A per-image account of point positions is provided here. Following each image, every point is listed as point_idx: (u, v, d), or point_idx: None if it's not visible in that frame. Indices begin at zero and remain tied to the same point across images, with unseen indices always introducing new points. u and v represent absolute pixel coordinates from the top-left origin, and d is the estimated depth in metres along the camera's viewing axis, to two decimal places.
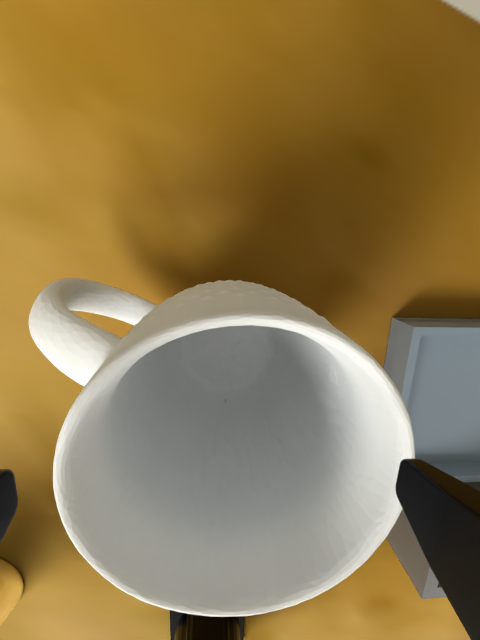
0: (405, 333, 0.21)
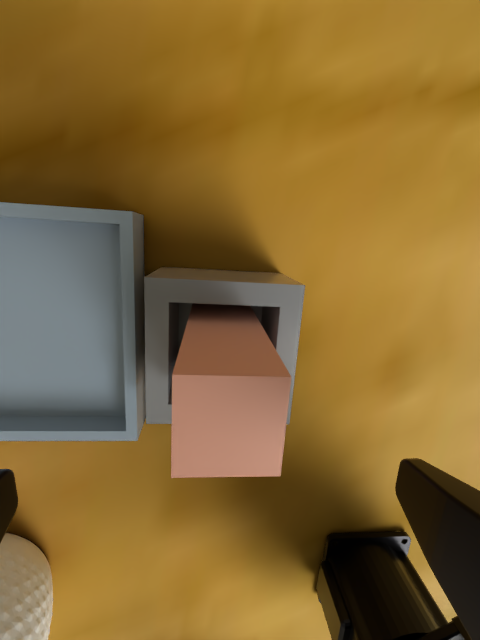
0: None
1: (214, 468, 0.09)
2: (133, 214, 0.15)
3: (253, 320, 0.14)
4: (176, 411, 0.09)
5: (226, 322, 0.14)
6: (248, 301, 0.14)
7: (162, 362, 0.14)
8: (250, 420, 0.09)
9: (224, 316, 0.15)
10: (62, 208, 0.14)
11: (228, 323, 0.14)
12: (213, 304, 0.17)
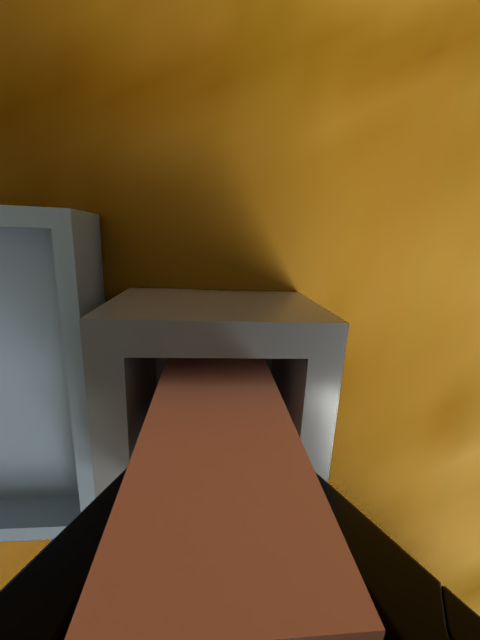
0: None
1: None
2: (73, 212, 0.09)
3: (264, 377, 0.09)
4: None
5: (221, 385, 0.08)
6: (256, 352, 0.08)
7: (119, 451, 0.09)
8: None
9: (218, 369, 0.09)
10: None
11: (224, 388, 0.08)
12: None
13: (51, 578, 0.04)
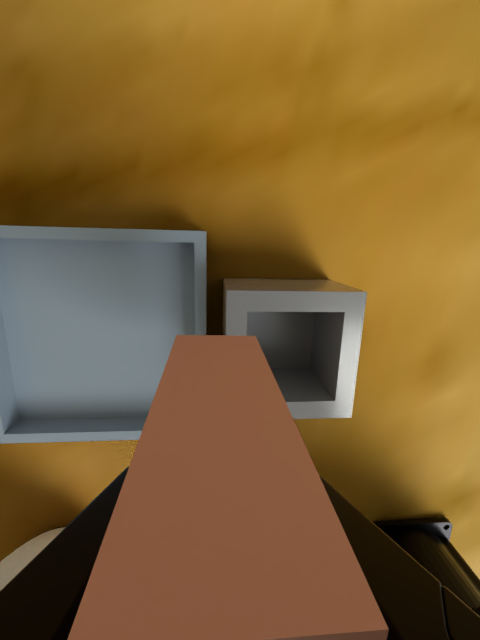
0: None
1: None
2: (206, 233, 0.16)
3: (265, 376, 0.09)
4: None
5: (222, 385, 0.08)
6: (317, 308, 0.15)
7: None
8: None
9: (219, 369, 0.09)
10: (145, 231, 0.16)
11: (225, 388, 0.08)
12: (204, 340, 0.12)
13: (51, 578, 0.04)
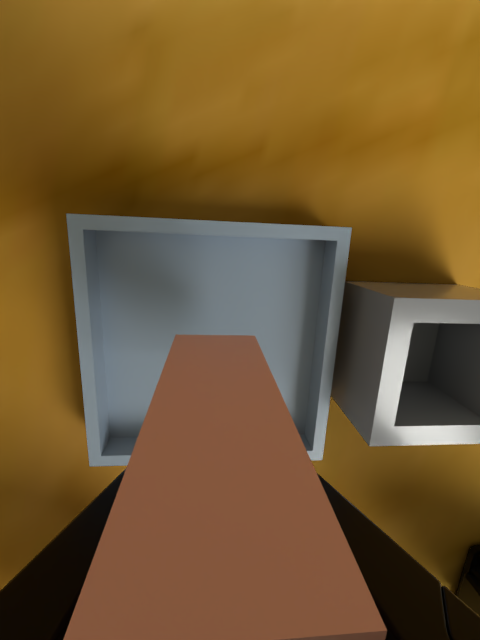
0: None
1: None
2: None
3: (264, 376, 0.09)
4: None
5: (221, 385, 0.08)
6: None
7: (396, 384, 0.13)
8: None
9: (218, 368, 0.09)
10: (284, 226, 0.14)
11: (224, 387, 0.08)
12: (203, 340, 0.12)
13: (51, 578, 0.04)
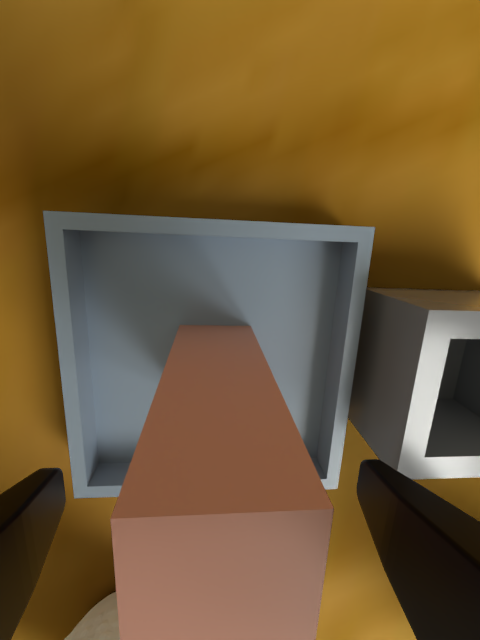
0: None
1: None
2: None
3: (257, 357, 0.10)
4: (124, 576, 0.05)
5: (220, 364, 0.10)
6: None
7: (428, 409, 0.12)
8: (259, 581, 0.05)
9: (218, 351, 0.11)
10: (297, 225, 0.12)
11: (223, 365, 0.10)
12: (205, 329, 0.13)
13: None
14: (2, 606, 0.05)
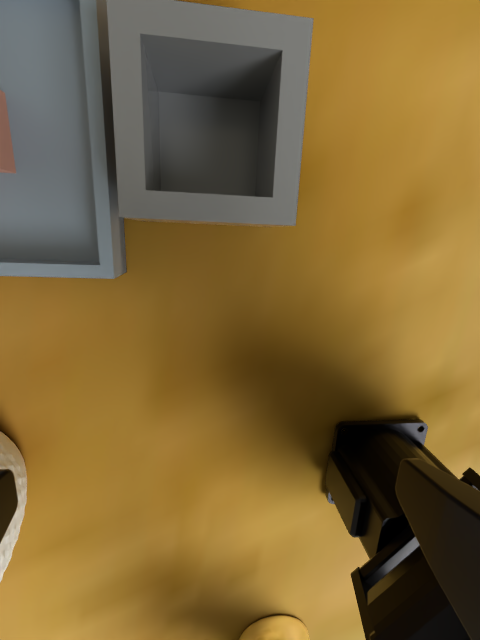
0: None
1: None
2: None
3: None
4: None
5: None
6: (242, 38, 0.11)
7: (135, 126, 0.11)
8: None
9: None
10: None
11: None
12: None
13: None
14: None
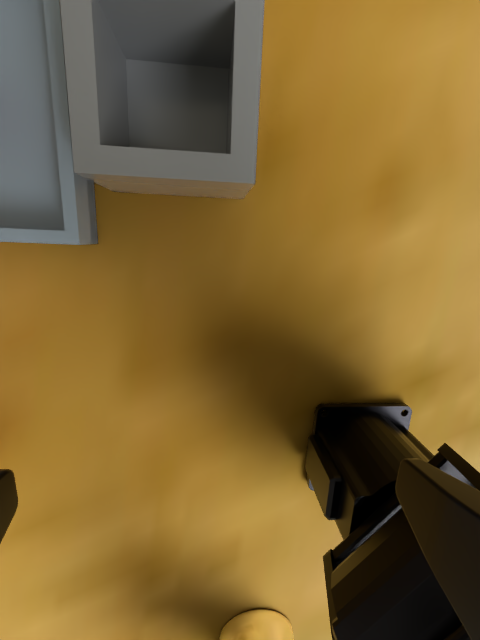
0: None
1: None
2: None
3: None
4: None
5: None
6: None
7: (88, 79, 0.11)
8: None
9: None
10: None
11: None
12: None
13: None
14: None
